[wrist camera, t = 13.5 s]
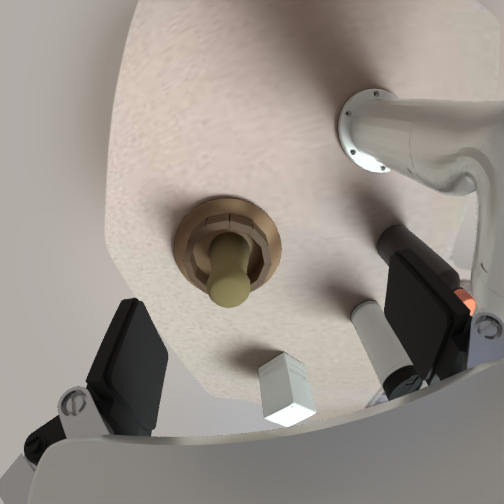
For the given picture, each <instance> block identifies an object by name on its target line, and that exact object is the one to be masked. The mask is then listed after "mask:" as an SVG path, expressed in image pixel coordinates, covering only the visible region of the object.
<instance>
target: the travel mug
mask: <svg viewBox="0 0 504 504" xmlns="http://www.w3.org/2000/svg"><path fill="white" fill-rule="evenodd" d="M351 321H352V323H353V325H354V327H355V329H356V331H357V333H358V335H359V337H360V340H361V342H362V344H363V346H364V348H365V350H366V352H367V354H368V357H369V359H370V361H371V363H372V365H373V367H374V370H375V372H376V374H377V376H378V379H379V381H380V383H381V385H382V388H383V389H384V391H385V394H386V396H387V398H388V401H391V400H394V399H396V398H399V397H402V396H405V395H407V394H410V393H412V392H415V391H417V390H419V389H420V387H421V386H422V383H423V380H422V379H421V378H420V376H419V374H418V373H417V371H416V369H415V367H414V365H413V364H412V362H411V360H410V358H409V357H408V355H407V353H406V351H405V350H404V348H403V346H402V345H401V343H400V341H399V340H398V338H397V336H396V335H395V333H394V331H393V330H392V328H391V326H390V325H389V323H388V321H387V320H386V318H385V315H384V312H383V310H382V309H381V307H380V305H379V304H378V303H377V302H375V301H366V302H363V303H361V304H360V305H358V306H357V307H356V308H355V309H354V311H353V312H352V315H351Z"/></svg>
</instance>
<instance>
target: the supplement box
mask: <svg viewBox="0 0 504 504" xmlns="http://www.w3.org/2000/svg"><path fill="white" fill-rule="evenodd" d="M258 371H259V380H260V389H261V397H262V406H263V415H264V419H267V420H270V421H272V422H275V423H277V424H280V425H283V426H286V427H289V426H291V425H293V424H295V423H297V422H299V421H301V420H303V419H305V418H307V417H309V416H311V415H313V414H315V413H316V409H315V405H314V401H313V397H312V393H311V389H310V385H309V381H308V377H307V373H306V369H305V365H303V364H302V363H300V362H299V361H297V360H296V359H294V358H292V357H291V356H289V355H288V354H286V353H285V352H283V353H282V354H280V355H278V356H277V357H275V358H274V359H272V360H271V361H269V362H267V363H266V364H264V365H263V366H261V367H260V368H259V369H258Z"/></svg>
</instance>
